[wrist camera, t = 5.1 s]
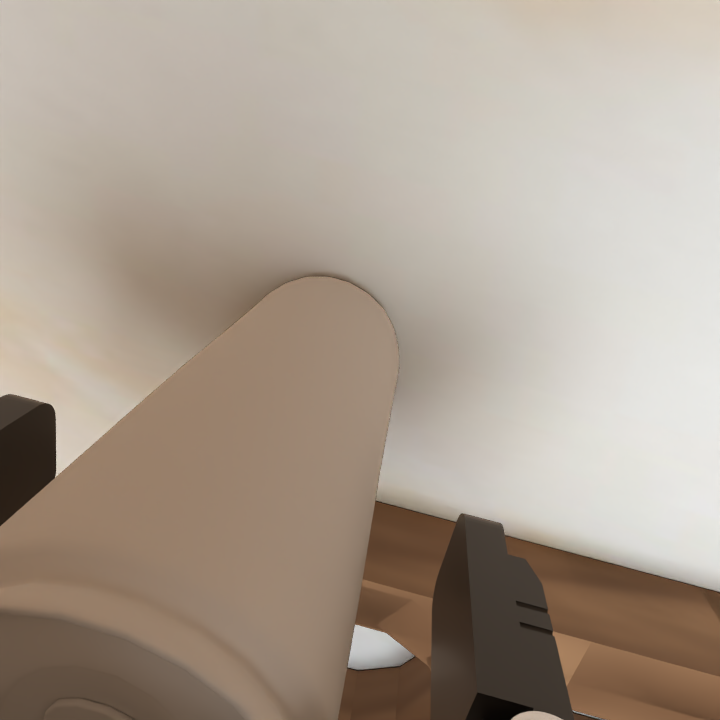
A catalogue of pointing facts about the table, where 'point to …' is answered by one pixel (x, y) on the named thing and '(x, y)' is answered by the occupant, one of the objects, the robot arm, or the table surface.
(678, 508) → the table surface
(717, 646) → the walnut bore block
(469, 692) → the robot arm
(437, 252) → the table surface
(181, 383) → the beverage can
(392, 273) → the table surface
